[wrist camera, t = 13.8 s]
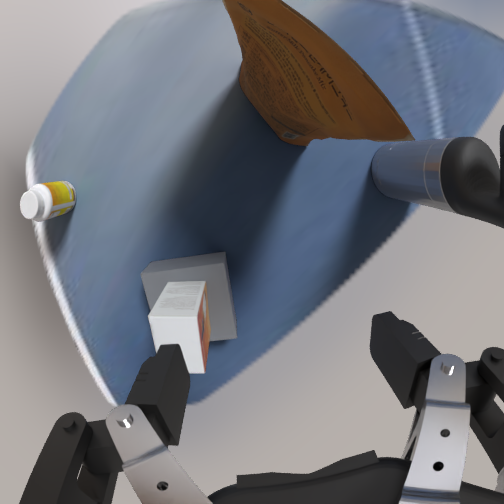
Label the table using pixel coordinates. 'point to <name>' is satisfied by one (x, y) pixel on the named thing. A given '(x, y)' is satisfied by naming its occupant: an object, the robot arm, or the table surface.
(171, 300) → the small box
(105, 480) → the robot arm
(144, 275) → the base block
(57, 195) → the supplement bottle
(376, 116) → the pancake mix bag
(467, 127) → the table surface
